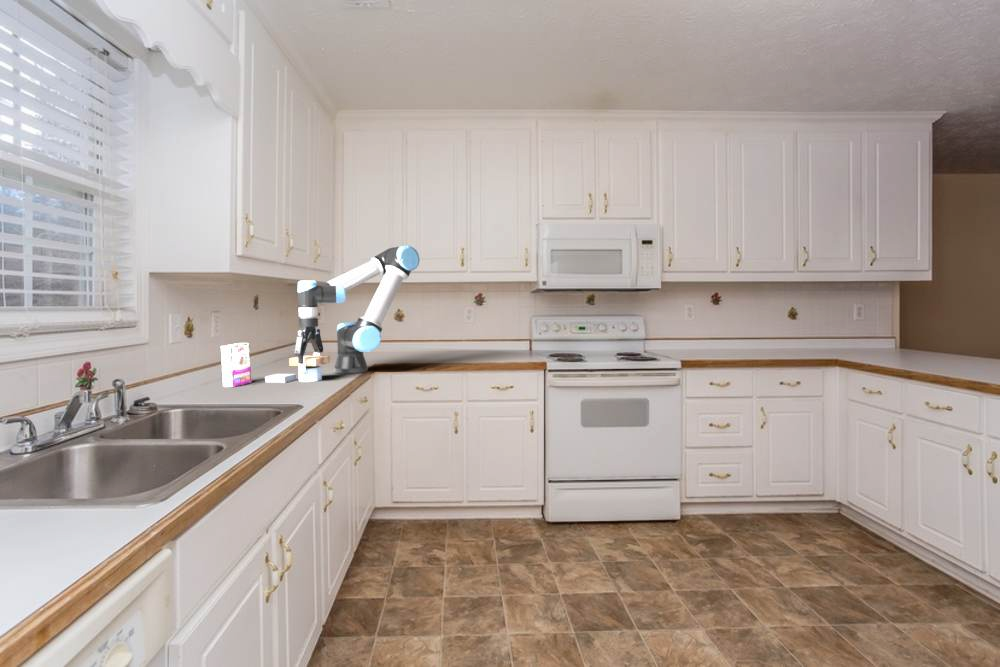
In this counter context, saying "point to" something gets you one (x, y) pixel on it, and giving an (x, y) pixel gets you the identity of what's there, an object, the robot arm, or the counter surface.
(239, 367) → the candy bar box
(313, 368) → the bowl
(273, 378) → the block
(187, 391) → the counter surface
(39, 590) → the counter surface
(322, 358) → the lid board
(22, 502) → the counter surface
